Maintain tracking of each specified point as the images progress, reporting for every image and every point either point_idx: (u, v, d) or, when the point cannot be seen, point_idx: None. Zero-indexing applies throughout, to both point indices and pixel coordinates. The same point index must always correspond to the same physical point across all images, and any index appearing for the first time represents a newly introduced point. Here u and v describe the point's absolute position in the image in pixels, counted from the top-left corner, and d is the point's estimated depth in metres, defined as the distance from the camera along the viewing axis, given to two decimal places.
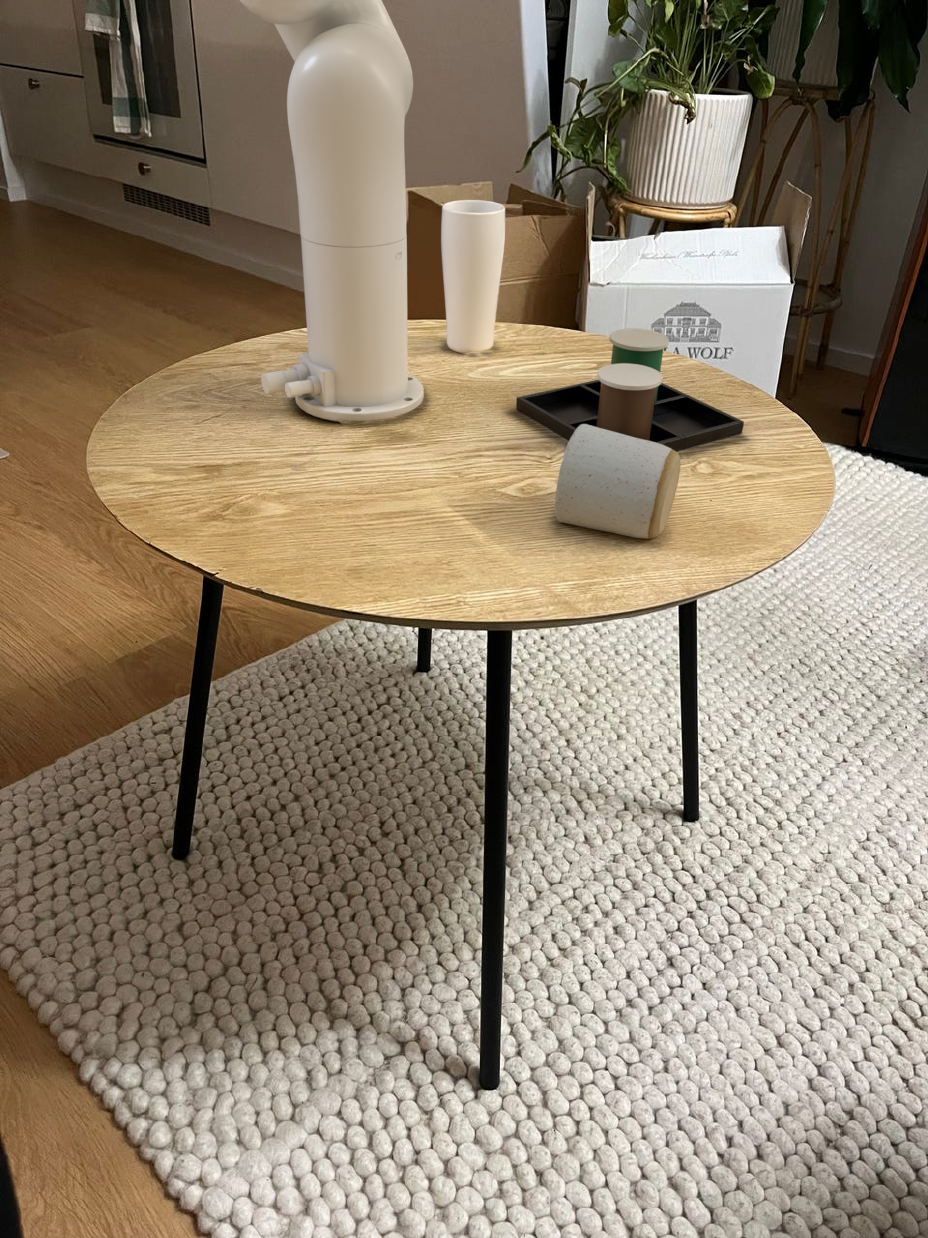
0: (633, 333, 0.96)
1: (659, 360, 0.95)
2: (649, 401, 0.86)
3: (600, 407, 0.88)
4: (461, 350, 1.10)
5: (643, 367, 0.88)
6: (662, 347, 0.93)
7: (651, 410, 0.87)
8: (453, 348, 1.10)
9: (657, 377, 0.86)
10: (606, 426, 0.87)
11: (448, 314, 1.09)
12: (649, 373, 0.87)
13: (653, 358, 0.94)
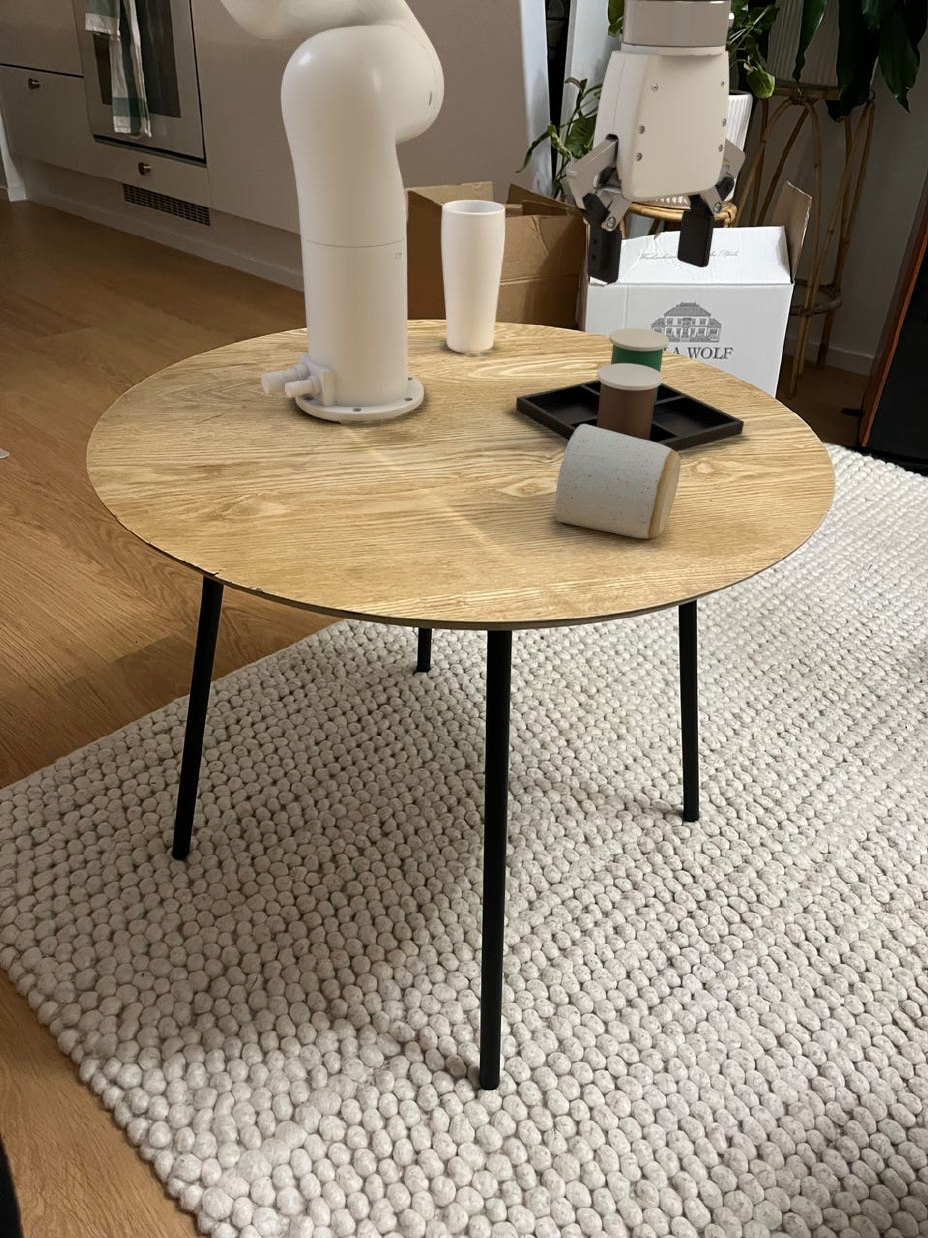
0: (633, 333, 0.96)
1: (659, 360, 0.95)
2: (649, 401, 0.86)
3: (600, 407, 0.88)
4: (461, 350, 1.10)
5: (643, 367, 0.88)
6: (662, 347, 0.93)
7: (651, 410, 0.87)
8: (453, 348, 1.10)
9: (657, 377, 0.86)
10: (606, 426, 0.87)
11: (448, 314, 1.09)
12: (649, 373, 0.87)
13: (653, 358, 0.94)
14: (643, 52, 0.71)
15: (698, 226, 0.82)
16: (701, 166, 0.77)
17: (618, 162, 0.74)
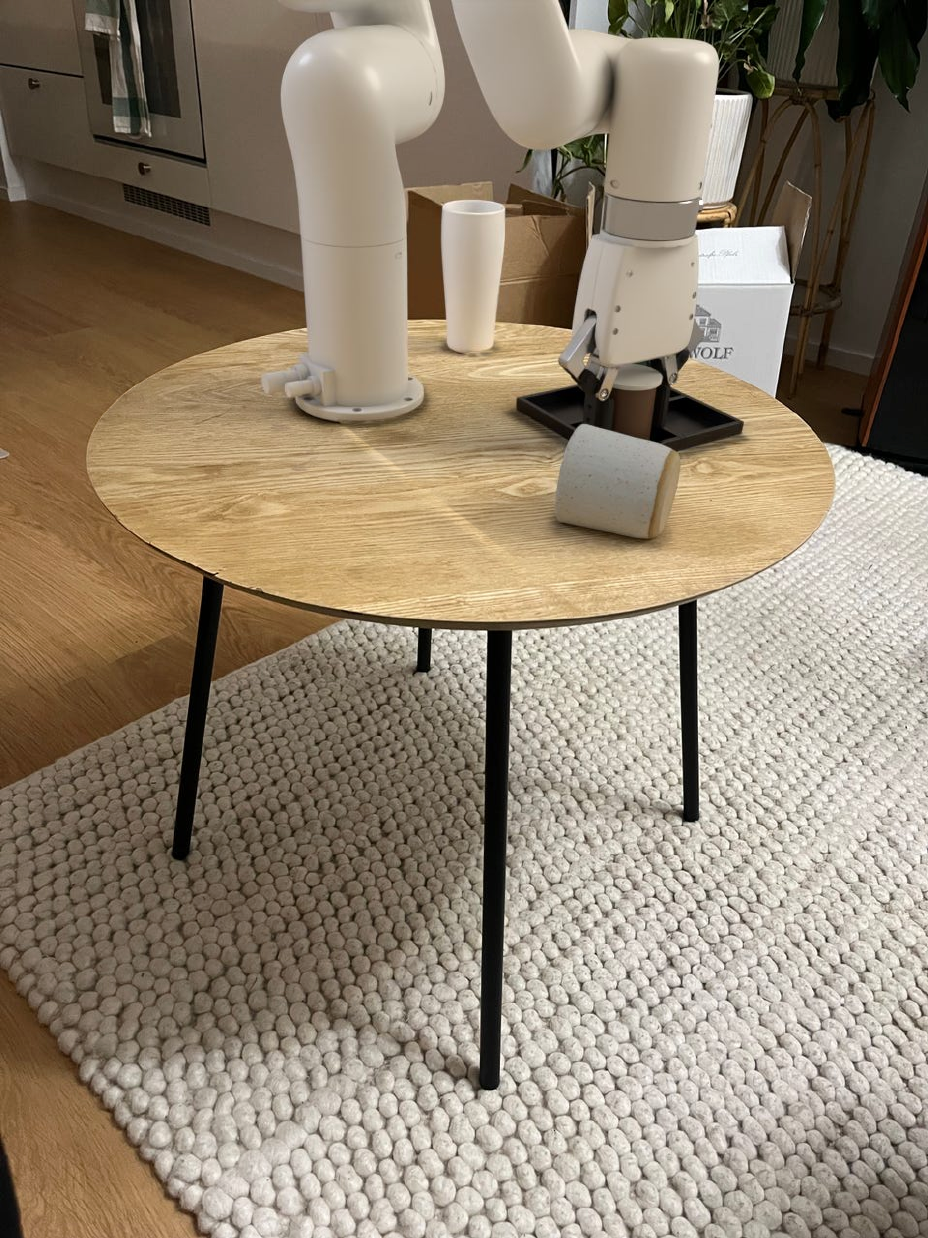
0: None
1: None
2: (649, 401, 0.86)
3: None
4: (461, 350, 1.10)
5: (643, 367, 0.88)
6: None
7: (651, 410, 0.87)
8: (453, 348, 1.10)
9: (657, 377, 0.86)
10: None
11: (448, 314, 1.09)
12: (649, 373, 0.87)
13: None
14: (619, 242, 0.78)
15: None
16: (673, 334, 0.84)
17: (596, 335, 0.81)
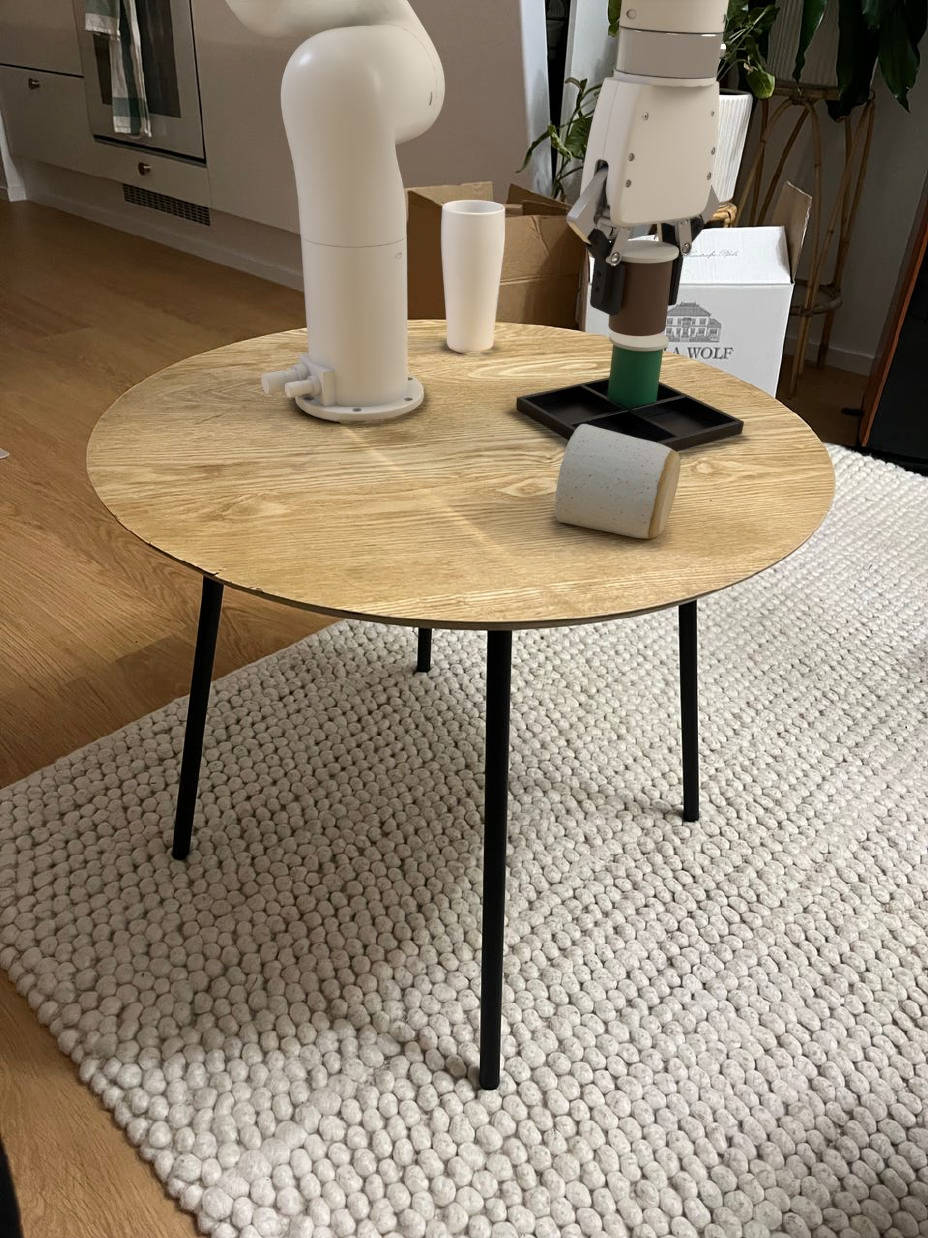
0: None
1: (659, 360, 0.95)
2: (665, 276, 0.80)
3: None
4: (461, 350, 1.10)
5: (657, 242, 0.82)
6: (662, 347, 0.93)
7: (667, 287, 0.81)
8: (453, 348, 1.10)
9: (673, 250, 0.80)
10: None
11: (448, 314, 1.09)
12: (664, 246, 0.81)
13: (653, 358, 0.94)
14: (635, 81, 0.71)
15: None
16: (689, 193, 0.78)
17: (607, 188, 0.75)
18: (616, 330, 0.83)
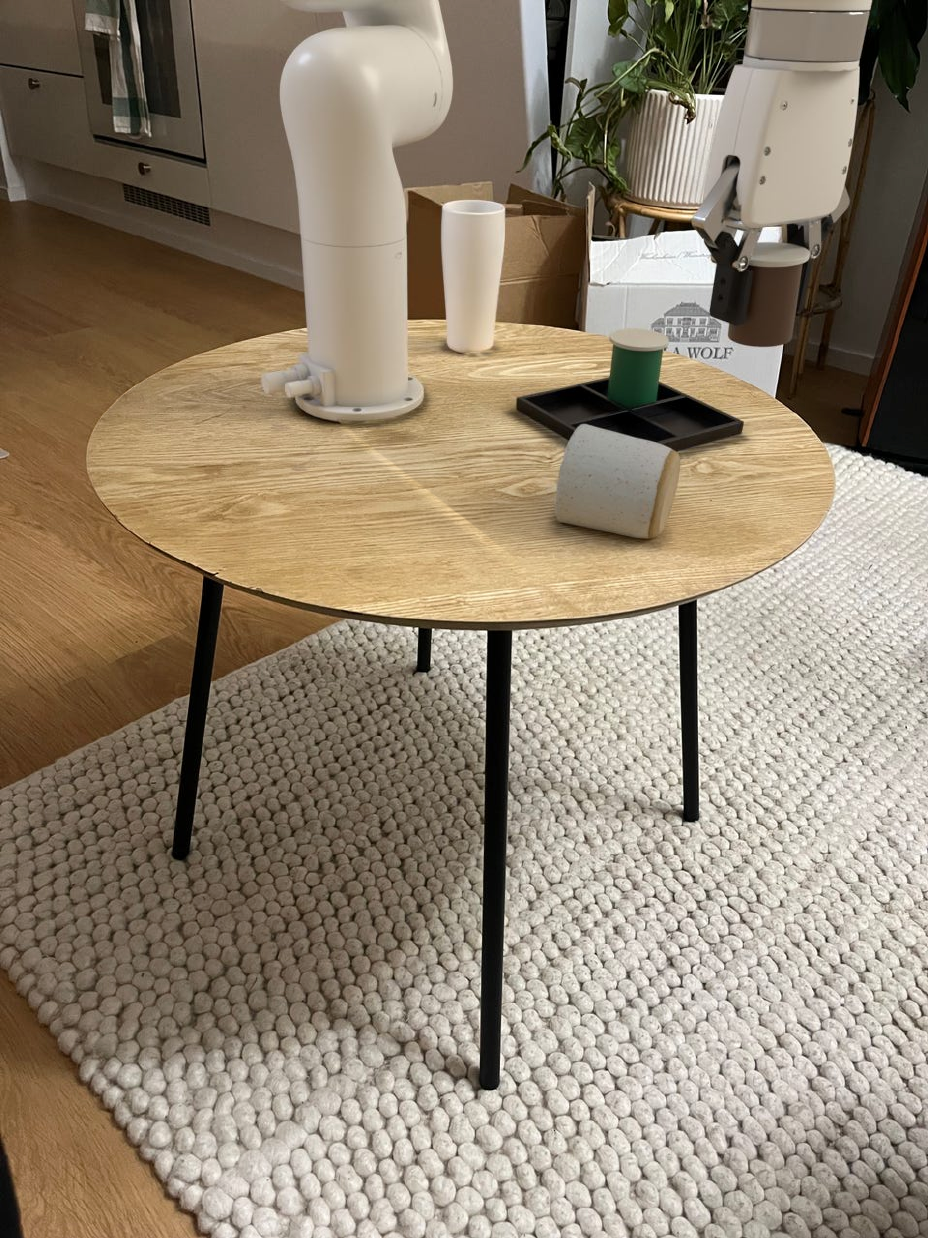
0: (633, 333, 0.96)
1: (659, 360, 0.95)
2: (795, 280, 0.73)
3: None
4: (461, 350, 1.10)
5: (783, 244, 0.75)
6: (662, 347, 0.93)
7: (797, 293, 0.74)
8: (453, 348, 1.10)
9: (804, 252, 0.73)
10: None
11: (448, 314, 1.09)
12: (792, 248, 0.74)
13: (653, 358, 0.94)
14: (772, 67, 0.65)
15: None
16: (824, 190, 0.71)
17: (738, 186, 0.68)
18: (739, 341, 0.76)
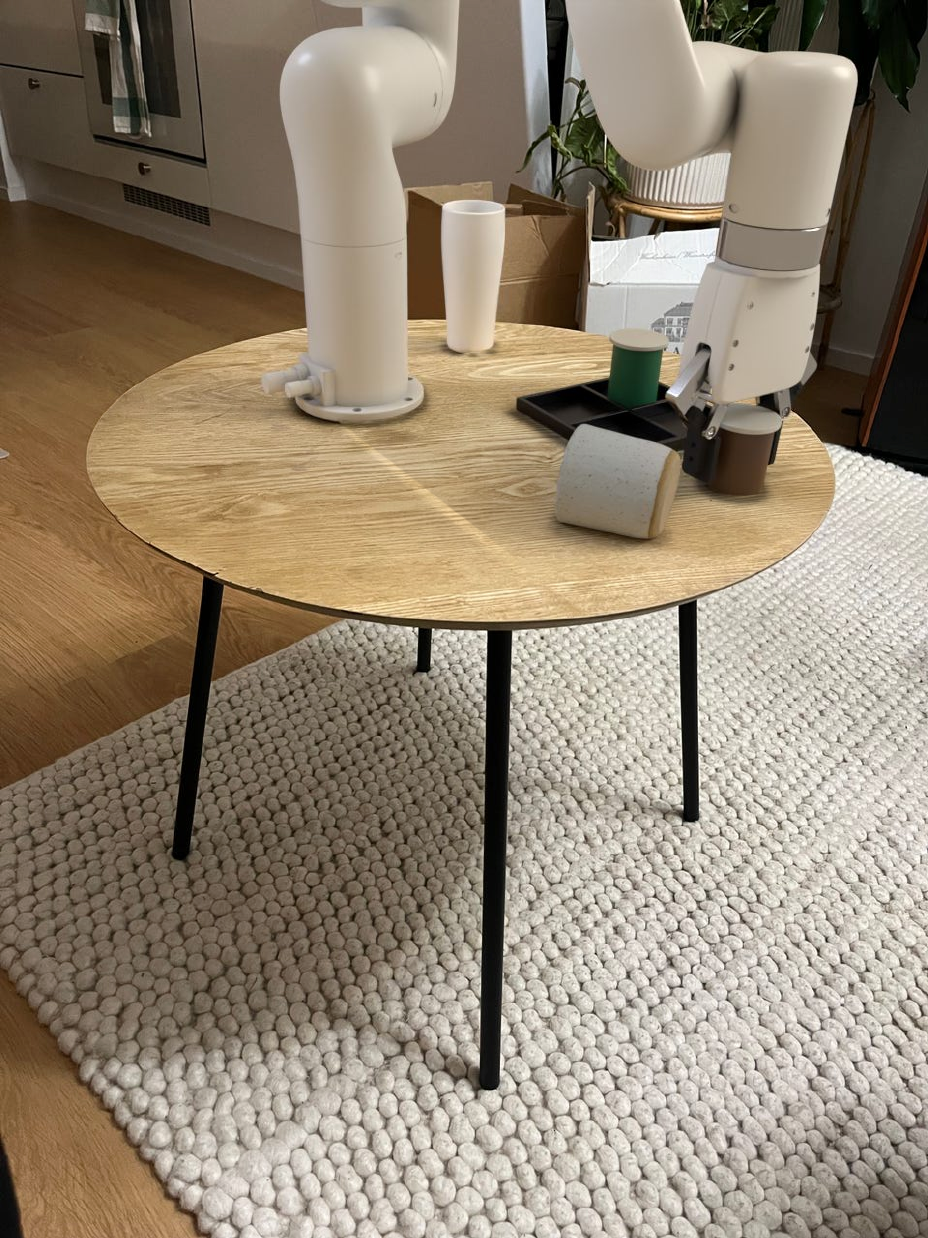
0: (633, 333, 0.96)
1: (659, 360, 0.95)
2: (767, 445, 0.80)
3: None
4: (461, 350, 1.10)
5: (758, 408, 0.82)
6: (662, 347, 0.93)
7: (768, 454, 0.81)
8: (453, 348, 1.10)
9: (776, 419, 0.80)
10: (719, 471, 0.81)
11: (448, 314, 1.09)
12: (766, 414, 0.81)
13: (653, 358, 0.94)
14: (740, 272, 0.72)
15: None
16: (788, 368, 0.78)
17: (710, 370, 0.75)
18: None
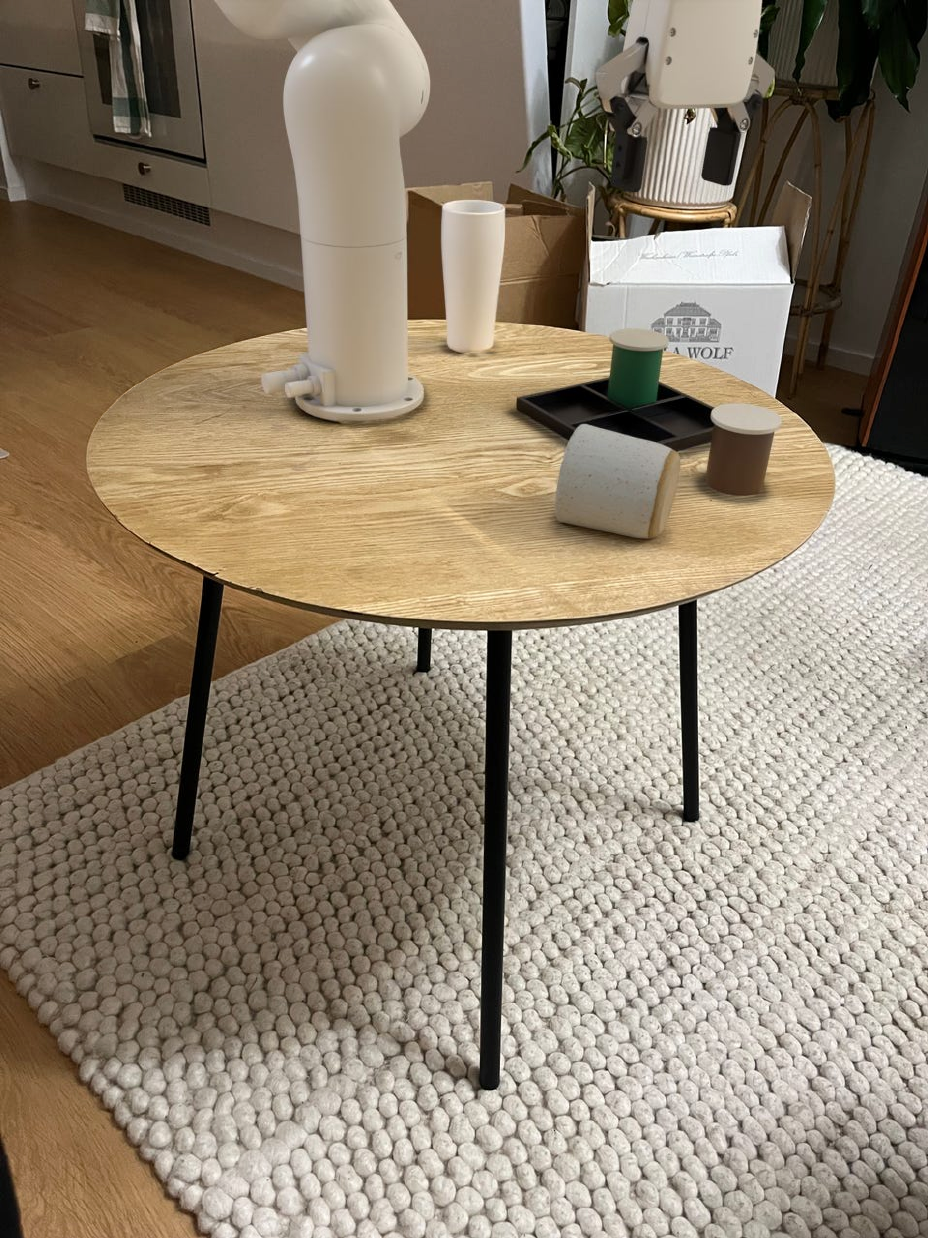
0: (633, 333, 0.96)
1: (659, 360, 0.95)
2: (767, 445, 0.80)
3: (713, 451, 0.82)
4: (461, 350, 1.10)
5: (758, 408, 0.82)
6: (662, 347, 0.93)
7: (768, 454, 0.81)
8: (453, 348, 1.10)
9: (776, 419, 0.80)
10: (719, 471, 0.81)
11: (448, 314, 1.09)
12: (766, 414, 0.81)
13: (653, 358, 0.94)
14: None
15: (724, 143, 0.81)
16: (730, 77, 0.77)
17: (647, 66, 0.74)
18: None
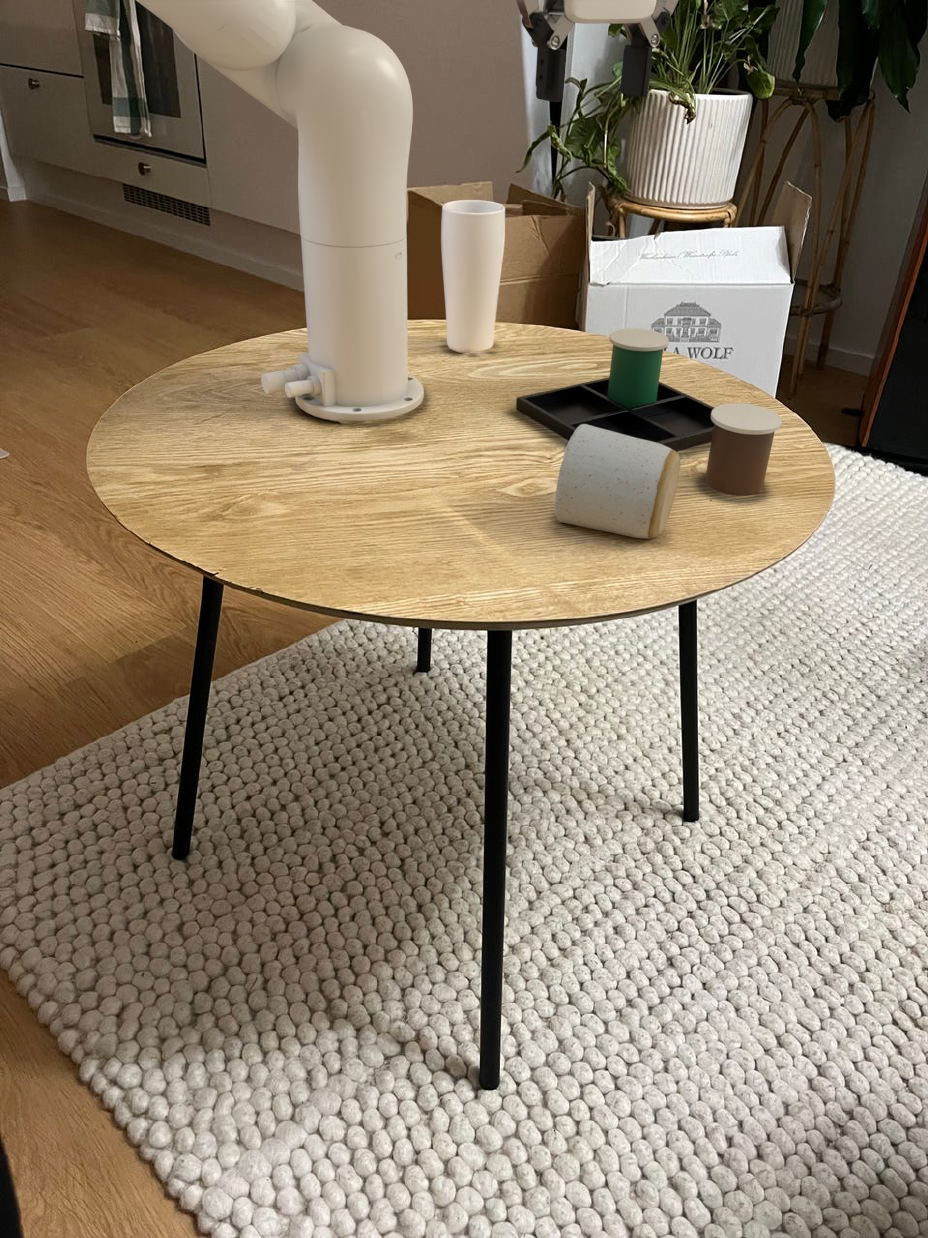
0: (633, 333, 0.96)
1: (659, 360, 0.95)
2: (767, 445, 0.80)
3: (713, 451, 0.82)
4: (461, 350, 1.10)
5: (758, 408, 0.82)
6: (662, 347, 0.93)
7: (768, 454, 0.81)
8: (453, 348, 1.10)
9: (776, 419, 0.80)
10: (719, 471, 0.81)
11: (448, 314, 1.09)
12: (766, 414, 0.81)
13: (653, 358, 0.94)
14: None
15: (638, 57, 0.90)
16: None
17: None
18: None
